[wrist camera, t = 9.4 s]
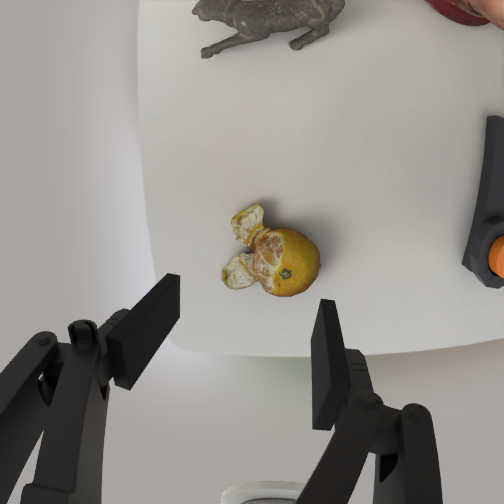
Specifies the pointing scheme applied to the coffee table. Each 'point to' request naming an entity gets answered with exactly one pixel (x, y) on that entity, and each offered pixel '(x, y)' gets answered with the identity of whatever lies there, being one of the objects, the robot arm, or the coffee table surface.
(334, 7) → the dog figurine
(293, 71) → the coffee table surface
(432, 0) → the decorative planter
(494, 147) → the scale
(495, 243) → the button
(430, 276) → the coffee table surface
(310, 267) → the fruit
